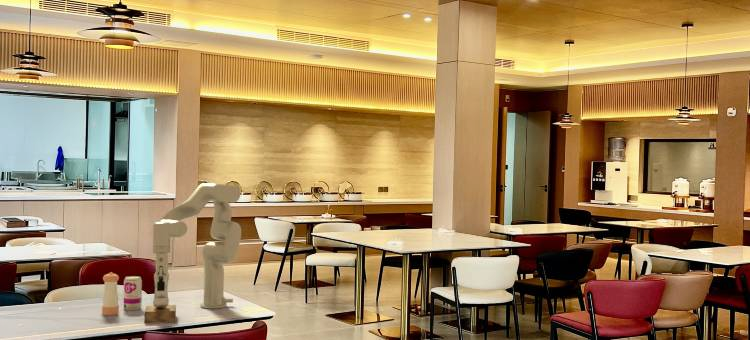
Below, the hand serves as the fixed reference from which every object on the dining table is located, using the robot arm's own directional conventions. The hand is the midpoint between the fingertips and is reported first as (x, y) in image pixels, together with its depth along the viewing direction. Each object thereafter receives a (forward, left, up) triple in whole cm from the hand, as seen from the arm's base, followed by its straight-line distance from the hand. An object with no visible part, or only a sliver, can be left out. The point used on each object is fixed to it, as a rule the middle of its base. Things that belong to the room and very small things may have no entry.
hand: (161, 289), depth 337 cm
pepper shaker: (+23, -16, -14) cm, 31 cm away
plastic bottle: (0, 0, -9) cm, 9 cm away
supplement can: (+14, -26, -14) cm, 33 cm away
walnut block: (0, 0, -14) cm, 14 cm away
